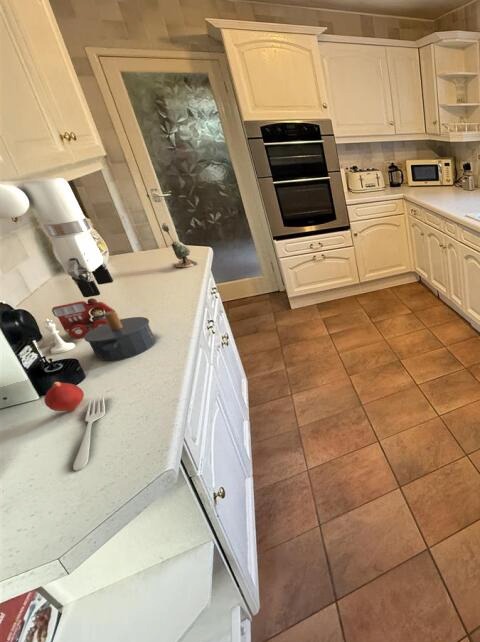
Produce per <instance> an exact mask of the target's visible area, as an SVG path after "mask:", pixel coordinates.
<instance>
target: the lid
mask: <svg viewBox="0 0 480 642" xmlns="http://www.w3.org/2000/svg"><path fill="white" fill-rule="evenodd" d="M104 316H105V318H106V320H107V322H108V323H107V324H104V325H101V326H99V327H97V328H94V329H93V328H92V329H91V330H89V331H88V333H87V334H86V335H85V336H84V337H83V339H84V341H85V342H87V343H89V342H105V341H110V340H115V339H119V338H122V337H125V336H128V335H131V334H133V333H135V332H138V331H140V330H141V329H143V328H145V327H146V326H147V325H148V324H150V320H149V318H147V317H144V316H133V317H125V318H120V317H119V315H118V313H117V312H116V310H115V311H109V312H106V313H105V312H104Z"/></svg>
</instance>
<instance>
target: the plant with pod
mask: <svg viewBox="0 0 480 642" xmlns="http://www.w3.org/2000/svg"><path fill="white" fill-rule="evenodd" d="M161 230H162V231H164V232H166V233H167V234H168V236H169V238H170V239H171V241H172V243H171V247H172V251H173V252H174V255H175V257H176V258H177V259H178V261H177V263H175V264H174V266H175V267H176V268H191V267H193V266H196V265H198V262H197V261H195V260H191V259H190V258H188V256H190V254H191V250H190V248H189V247H188V245H186V244H184V243H183V242H181V241H177V240H176V241H174V239H173V238H172V236H171V235H170V229H169V226H168V224H167V223H166V222H163V223H162V226H161Z"/></svg>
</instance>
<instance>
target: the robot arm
mask: <svg viewBox="0 0 480 642" xmlns="http://www.w3.org/2000/svg"><path fill="white" fill-rule="evenodd" d="M28 210H34V211H35V213H36V215H37V216H38V218H39V220H40V222H41V224H42V227H44V229H45V231H46V233H47V235H48V237H49V238H50V239H51V240H52V241H51V242H52V244H53V247H54V250H55V252H56V255H57V257H58V259H59V262H60V264H61V266H62V268H63V269H64V270H63V271H64V272H65V274H66V275H67V276H70V277H71V279H72V280H73V281H74V284H75V285H77V288H78V289H79V291H80V293H81V295H82V297H83V298H93V297H96V296H97V297H98V296H100V295H101V291H100V290H99V288H98V285H107V284H112V283H113V282H114V279H113V277H112V275H111V273H110V271H109V270H108V266H107V264H106V263H105V258H104V256H103V255H102V252H101V251H100V248H99V246H98V244H97V243H96V241H95V239H94V238H93V236H92V235H91V232H92V229H91V226H90V225H89V223H88V221H87V219H86V216H85V214H84V213H83V211H82V208H81V207H80V205H79V202H78V200H77V198H76V197H75V194H74V192H73V190H72V188H71V186H70V184H69V182H68V181H67V180H66V179H65V178H62V177H59V176H58V177H57V176H56V177H55V176H51V177H40V178H39V177H37V178H31V179H27V180H0V219H15V218H18V217H20V216H23V215H24V214H25V213H27V211H28ZM91 273H92V274H91ZM92 275H93V278H94V280H92ZM95 281H96V282H95ZM96 283H97V284H96Z"/></svg>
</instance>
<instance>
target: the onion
mask: <svg viewBox="0 0 480 642" xmlns="http://www.w3.org/2000/svg"><path fill="white" fill-rule="evenodd" d="M84 397H85V394H84V390H82V388H81V387H80V386H78V385H76V384H74V383H70V382H69V383H68V382H61V381H54V383H52V386H51V387H50V388H49V389H48V390H47V391H46V394H45V395H44V404H45V406H46V407H47V408H48V409H50V410H51V411H55V412H74V411H75V410H76V409H77V408H78V406H79V405H80V404H81V403H82V402H83V400H84Z"/></svg>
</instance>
